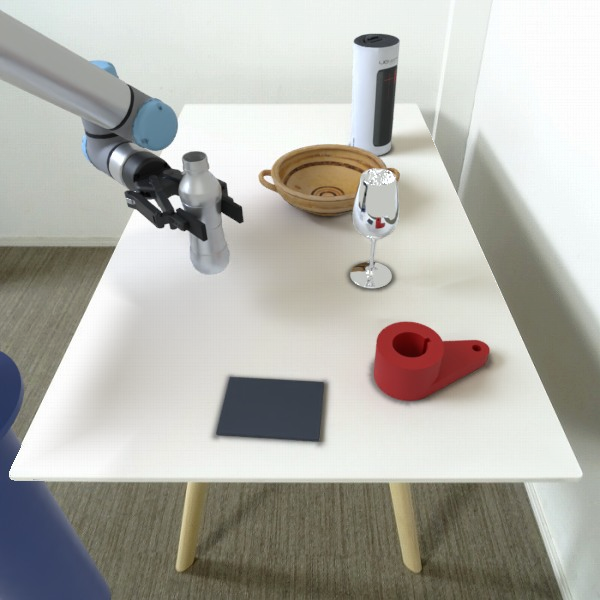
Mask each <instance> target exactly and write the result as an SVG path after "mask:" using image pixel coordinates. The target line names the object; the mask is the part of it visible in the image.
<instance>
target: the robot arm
mask: <svg viewBox="0 0 600 600" xmlns="http://www.w3.org/2000/svg"><path fill="white" fill-rule="evenodd" d="M0 80H1V81H3V82H4V83H7V84H8V85H11V86H13V87H16V88H18V89H20V90H22V91H24V92H26V93H28V94H30V95H32V96H34V97H37V98H39V99H41V100H44V101H45V102H48V103H50V104H51V105H54V106H56V107H58V108H60V109H62V110H65V111H66V112H69V113H71V114H74V115H75V116H77V117H79V118H81V123H82V125H83V130H84V133H85V134H84V135H83V137H82V141H81V151H82V154H83V156H84V157H85V159H86V160H87V161H88V162H89V163H90V164H92V166H93V167H94V168H95V169H96V170H98V171H101V172H102V173H104V174H105V175H106V176H108V177H110V178H111V179H113V180H114V181H115V182H117V183H119V184H120V185H122V186H123V187H124V188H126V189H127V190H125V191H124V197H125V201H126V205H127V207H128V208H130V209H132V210H136V211H137V212H139V214H140V215H142V217H144V218H145V219H147V220H148V221H149V222H150V223H151V224H152V225H153V226H155V227H156V228H157V229H164V228H165V226H166V225H169V229H170V230H172V231H175V230H177V229H178V230H180V231H182V232H186V231H187V232H188V233H189V232H190V233H192V234H193V235H195V236H196V237H197V238H199V239H200V240H202V241H203V242H204V241H206V240H208V238H207V231H206V225H205V224H204V223H203V222H201V221H200V220H198V219H197V218H195V217H194V216H192V215H191V214H189V213H188V212H186V211H185V210H184V208H181V207H177V208H174V206H173V205H172V204H173V203H171V200H170V198H172V197H173V196H177V197H179V193H178V190H179V184H180V182H181V179H182V177H183V176H184V174H185V172H184V171H181V170H180V169H177V168H172V166H171V165H170V164H169V163H168V162H167V161H166V160H165V159H164V158H162V157H160V156H159V155H157V154H155V153H153V152H158V151H163V150H165V149H167V148H168V147H169V146H170V145H172V143H173V142H174V141H175V138H176V137H177V134H178V131H179V121H178V117H177V113H176V112H175V111H174V109H173V108H172V107H171V106H170V105H168V104H167V103H165V102H164V101H162V100H161V99H159V98H156V97H152V96H150V95H148V94H147V93H145V92H143V91H141V90H140V89H138V88H136V87H134V86H133V85H131V84H128V83H127V82H125V80H122V79H121V78H120V76H119V75H118V73H117V70H116V67H115V65H114V64H113V63H112V62H110V61H107V60H88V59H86V58H84V57H83V56H81V55H79V54H78V53H76V52H74V51H72V50H71V49H69V48H67V47H66V46H63V45H61V44H60V43H59V42H56V41H55V40H53V39H51V38H50V37H48V36H46V35H45V34H42V32H39V31H38V30H36V29H35V28H32V27H31V26H29V25H27V24H25V23H23V22H22V21H20V20H19V19H17V18H16V17H13V16H12V15H10V14H9V13H6V12H5V11H3V10H1V9H0ZM216 179H217V180H218V181H219V183H220V186H221V193H222V194H221V214H223V215H225V216H227V217H228V218H229V219H231V220H233V221H235V222H236V223H238V224H242V223H245V222H244V221H245V220H244V213H243V206H242V205H241V204H239V203H237V202H235V200H234V198H233V197H231V196H229V189H228V183H227V182H225V181H224V180H221V179H220V178H217V177H216ZM152 200H154V202H155V203H156V205H157V206H156V205H154V204H153V202H151V201H152ZM159 208H160V209H159Z"/></svg>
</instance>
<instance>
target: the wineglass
mask: <svg viewBox="0 0 600 600" xmlns="http://www.w3.org/2000/svg"><path fill="white" fill-rule="evenodd" d="M399 219H400V198H399V188H398V182H397V181H396V176H395V174H394V173H393V172H391V171H389V170H386V169H378V168H377V169H369V170H366V171H365V172H363V173H362V174H361V177H360V180H359V184H358V187H357V190H356V194H355V198H354V203H353V209H352V212H351V221H352V224H353V227H354V229H355V230H356V232H357V233H358V234H360V235H361V236H362V237H363V238H366V239H368V240H370V255H369V261H365V262H360V263H358V264H355V265H354V266H352V268H351V270H350V272H349V277H350V279H351V281H352V283H354V284H355V285H357V286H359V287H361V288H364V289H372V290H373V289H380V288H383V287H386V286H387V285H388V284H390V282H391V281H392V278H393V274H392V271H391V270H390V268H388V267H387V266H386V265H384V264H382V263H380V262H375V253H376V251H375V250H376V244H377V241H378V240H382V239H384V238H386V237H389V236H390V235H391V234H392V233H393V232H394V231H395V230H396V228H397V226H398V223H399Z"/></svg>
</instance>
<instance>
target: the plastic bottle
mask: <svg viewBox="0 0 600 600" xmlns="http://www.w3.org/2000/svg"><path fill="white" fill-rule="evenodd" d="M181 161H182V170H183V171H184V172H185V174H184V176H183V177H182V179H181V182H180V184H179V190H178V193H179V196H178V197H179V200H180V202H181V205H182V209H183V210H185V211H186V212H188V213H189V214H191V215H192V216H194V217H195V218H197V219H198V220H200V221H201V222H203V223H204V224H205V225H206V231H207V238H208V240H206V241H204V242H203V241H202V240H200V239H199V238H197V237H196V236H195V235H193V234H192V233H190V232H189V231H188V233H189V234H188V235H189V244H190V245H189V259H190V262H191V264H192V267H193V268H194V270H196V271H197V272H199V273H200V274H203V275H208V276H209V275H210V276H212V275H217V274H220V273H223V271H225V270H226V269H227V267H228V265H229V264H230V258H231V253H230V252H231V251H230V248H229V244H228V243H227V240H226V236H225V231H224V228H223V227H224V226H223V220H222V212H221V194H222V193H221V186H220V183H219V181H218V180H217V179H218V178H217V177H216V176H215V175H214V174H213V173H212V172H211V171H210V163H209V160H208V155H207V153H205V152H204V151H201V150H192V151H188V152H186V153H184V154H183V155H182V156H181ZM183 171H182V172H183ZM216 178H217V179H216Z"/></svg>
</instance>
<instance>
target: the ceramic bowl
mask: <svg viewBox="0 0 600 600" xmlns="http://www.w3.org/2000/svg"><path fill="white" fill-rule="evenodd" d="M377 168H378V169H386V170H389V171H391V172H393V173H394V174H395V176H396V181H397V183H398V182H399V181H400V177H401V173H400V171H399V170H398V169H397V168H395V167H387V165H386V163H385V162H384V161H383V159H381V157H380V156H376V155H375V154H373V153H371V152H369V151H366V150H364V149H361V148H357V147H353V146H350V145H348V144H338V143H323V144H322V143H321V144H313V145H307V146H303V147H298V148H295V149H292V150H290V151H289V152H286V153H285V154H283V155H281V156H280V157H278V158H277V160H276V161H275V162H274V163H273V164H272V166H271V169H263V170H262V171H260V172H259V174H258V181H259V183H260V185H262V186H263V187H265V188H266V189H268V190H270V191H272V192H275V193H277V194H279V196H280V197H281V198H282V199H283V200H284V201H285V202H287V204H289V205H291V206H292V207H294V208H295V209H298V210H300V211H303V212H305V213H310V214H314V215H317V216H320V217H335V216H336V217H337V216H341V215H345V214H347V213H352V209H353V203H354V198H355V194H356V190H357V187H358V184H359V180H360V177H361V174H362V173H363V172H365V171H366V170H369V169H377ZM267 176H268V177H271V179H272V182H273V183H271V182H269V181H267V180H266V179H265V178H264V177H267Z"/></svg>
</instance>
